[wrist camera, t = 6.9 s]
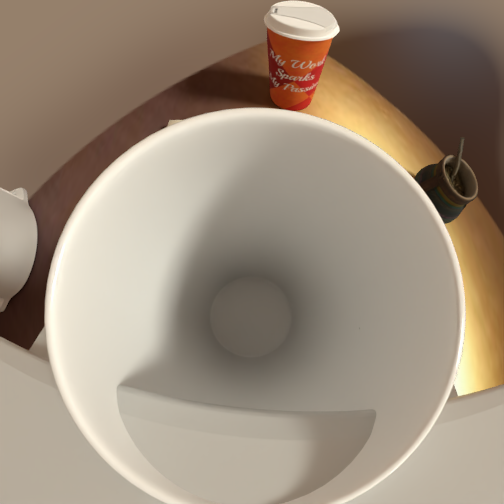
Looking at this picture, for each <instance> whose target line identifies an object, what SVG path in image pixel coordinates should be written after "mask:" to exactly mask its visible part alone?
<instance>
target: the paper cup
mask: <svg viewBox="0 0 504 504" xmlns="http://www.w3.org/2000/svg"><path fill="white" fill-rule="evenodd" d="M264 23H265V25H266V26H267V44H268V58H269V80H270V95H271V99H272V101H273V102H274V103H275V104H276V105H277V106H278V107H280V108H282V109H285V110H290V111H297V110H302V109H304V108H306V107H307V106H308V105H309V104H310V102H311V100H312V98H313V95H314V92H315V89H316V86H317V83H318V81H319V78H320V75H321V72H322V69H323V66H324V63H325V60H326V57H327V54H328V50H329V47H330V44H331V41H332V38H333V37H334V36H336V34H337V33H338V32H339V27H338V25H337V21H336V19H335V18H334V16H333V15H332V14H331V13H330V12H329V11H328V10H326V9H325V8H323V7H321V6H318V5H316V4H312V3H308V2H302V1H283V2H279V3H276V4H274V5H273V6H271V9H270V11H269V12H268V13H267V14H266V15H265V17H264Z"/></svg>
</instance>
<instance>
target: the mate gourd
mask: <svg viewBox="0 0 504 504" xmlns="http://www.w3.org/2000/svg"><path fill="white" fill-rule="evenodd" d="M463 142H464V137H461V139H460V145H459V149H458V154H457V156H455V155H447V156H445V157H444V158H443V159H442V160H441V161H440V162H439V163H438V164H431V165H428V166H426V167H424V168H423V169H421V170H420V171H419V172H418V173H417V175H416V177H415V178H414V179H415V181H416V182H417V183H418V184H419V185H420V186H421V188H422V189H423V190H424V192H425V193H426V195H427V196H428V197H429V199H430V200H431V202H432V203H433V205H434V206H435V208H436V210H437V211H438V213H439V215H440V217H441V218H442V220H443V222H444V224H445V223H449V222H451V221H453V220H454V219H456V218H457V217H458V215H459V214H460V213H461V212H462V210H463V209H464V208H465V207H466V205H467V204H468V203H469V202H471V201H473V200H474V199H475V198H476V196H477V193H478V185H477V180H476V177H475V175H474V173H473V171H472V169H471V168H470V167H469V165H468V164H467V163H466V162H465V161H464V160H462V159H461V157H462V156H461V155H462V150H463Z"/></svg>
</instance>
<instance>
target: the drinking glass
mask: <svg viewBox="0 0 504 504" xmlns="http://www.w3.org/2000/svg"><path fill="white" fill-rule="evenodd" d="M465 321H466V309H465V293H464V286H463V279H462V274H461V270H460V265H459V261H458V257H457V254H456V251H455V249H454V246H453V243H452V240H451V237H450V235H449V233H448V231H447V229H446V226H445V224H444V222H443V220H442V218H441V217H440V215H439V213H438V211H437V210H436V208H435V206H434V205H433V203H432V202H431V200H430V199H429V197H428V196H427V195H426V193H425V192H424V190H423V189H422V188H421V186H420V185H419V184H418V183H417V182H416V181H415V179H414V178H413V177H412V176H411V175H410V174H409V173H408V172H407V171H406V170H405V169H404V168H403V167H402V166H401V165H400V164H399V163H398V162H397V161H396V160H395V159H393V158H392V157H391V156H390V155H388V154H387V153H386V152H385V151H383V150H382V149H381V148H379V147H378V146H377V145H375V144H374V143H372V142H370V141H369V140H367V139H366V138H364V137H363V136H361V135H359V134H357V133H355V132H353V131H351V130H349V129H347V128H345V127H343V126H341V125H338V124H336V123H333V122H331V121H328V120H326V119H322V118H319V117H316V116H312V115H309V114H305V113H300V112H295V111H290V110H283V109H273V108H238V109H227V110H221V111H216V112H210V113H206V114H202V115H198V116H195V117H191V118H188V119H185V120H183V121H180V122H177V123H175V124H172V125H170V126H168V127H166V128H164V129H162V130H160V131H158V132H156V133H154V134H152V135H150V136H148V137H147V138H145V139H143V140H142V141H140V142H139V143H137V144H136V145H134V146H133V147H131V148H130V149H129V150H127V151H126V152H125V153H123V154H122V155H121V156H120V157H118V158H117V159H116V160H115V161H114V162H113V163H112V164H111V165H110V166H109V167H107V168H106V169H105V170H104V171H103V172H102V173H101V174H100V176H99V177H98V178H97V179H96V180H95V181H94V182H93V184H92V185H91V186H90V187H89V188H88V190H87V191H86V192H85V194H84V195H83V197H82V198H81V199H80V201H79V202H78V204H77V205H76V207H75V209H74V210H73V212H72V214H71V216H70V217H69V219H68V221H67V223H66V225H65V227H64V229H63V232H62V234H61V236H60V238H59V241H58V244H57V246H56V249H55V252H54V255H53V258H52V262H51V266H50V271H49V275H48V280H47V287H46V295H45V312H44V323H45V336H46V345H47V351H48V356H49V361H50V365H51V369H52V372H53V376H54V379H55V382H56V385H57V388H58V390H59V393H60V395H61V398H62V400H63V402H64V404H65V406H66V408H67V410H68V412H69V414H70V416H71V418H72V419H73V421H74V423H75V424H76V426H77V427H78V429H79V430H80V432H81V433H82V435H83V436H84V438H85V439H86V440H87V442H88V443H89V444H90V445H91V446H92V448H93V449H94V450H95V451H96V452H97V454H98V455H99V456H100V457H101V458H102V459H103V460H104V461H105V462H106V463H107V464H108V465H109V466H110V467H111V468H112V469H114V470H115V471H116V472H117V473H118V474H120V475H121V476H122V477H123V478H125V479H126V480H127V481H128V482H130V483H131V484H132V485H134V486H135V487H137V488H139V489H140V490H142V491H143V492H145V493H146V494H148V495H150V496H152V497H154V498H156V499H157V500H159V501H161V502H163V503H165V504H219V503H215V502H211V501H208V500H206V499H203V498H200V497H198V496H195V495H193V494H191V493H189V492H187V491H186V490H184V489H182V488H180V487H178V486H177V485H175V484H174V483H173V482H171V481H170V480H168V479H167V478H166V477H164V476H163V475H162V474H161V473H160V472H158V471H157V470H156V469H155V468H154V467H153V466H152V465H151V464H150V463H149V462H148V461H147V459H146V458H145V457H144V456H143V454H142V453H141V452H140V451H139V449H138V448H137V447H136V445H135V444H134V442H133V440H132V439H131V437H130V435H129V434H128V432H127V430H126V428H125V426H124V423H123V421H122V419H121V416H120V414H119V409H118V403H117V386H118V385H120V384H121V385H125V386H128V387H132V388H136V389H140V390H144V391H148V392H152V393H156V394H161V395H166V396H170V397H175V398H180V399H186V400H191V401H197V402H203V403H210V404H217V405H224V406H233V407H242V408H252V409H264V410H280V411H354V410H369V409H373V410H375V411H376V419H375V423H374V426H373V429H372V433H371V435H370V437H369V439H368V441H367V442H366V444H365V445H364V447H363V449H362V450H361V451H360V452H359V454H358V455H357V456H356V457H355V459H354V460H353V461H352V462H351V463H350V464H349V465H348V466H347V467H346V468H345V469H344V470H343V471H342V472H341V473H340V474H339V475H337V476H336V477H335V478H333V479H332V480H331V481H329V482H328V483H327V484H325V485H324V486H322V487H320V488H318V489H317V490H315V491H313V492H311V493H309V494H307V495H305V496H302V497H300V498H297V499H294V500H292V501H289V502H285V503H281V504H344V503H346V502H348V501H350V500H352V499H354V498H356V497H358V496H359V495H361V494H363V493H365V492H366V491H368V490H369V489H371V488H373V487H374V486H375V485H377V484H378V483H380V482H381V481H382V480H384V479H385V478H386V477H388V476H389V475H390V474H391V473H392V472H394V471H395V470H396V469H397V468H398V467H399V466H400V465H401V464H402V463H403V462H404V461H405V460H406V459H407V458H408V457H409V456H410V455H411V454H412V453H413V452H414V451H415V450H416V448H417V447H418V446H419V445H420V443H421V442H422V441H423V440H424V438H425V437H426V436H427V434H428V433H429V431H430V430H431V428H432V427H433V425H434V424H435V422H436V420H437V419H438V417H439V415H440V414H441V412H442V410H443V408H444V406H445V403H446V401H447V399H448V397H449V395H450V392H451V390H452V387H453V384H454V381H455V379H456V376H457V372H458V368H459V364H460V360H461V356H462V350H463V344H464V337H465ZM359 328H360V329H359Z"/></svg>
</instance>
